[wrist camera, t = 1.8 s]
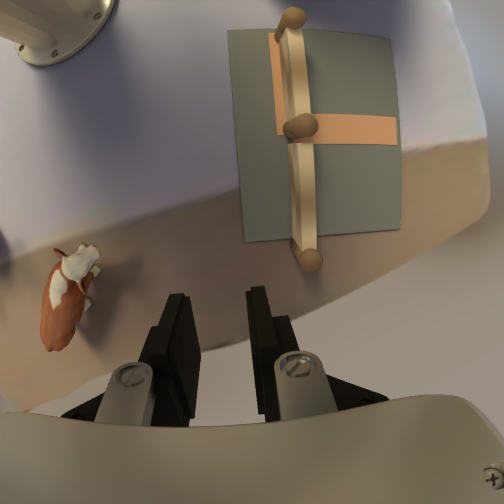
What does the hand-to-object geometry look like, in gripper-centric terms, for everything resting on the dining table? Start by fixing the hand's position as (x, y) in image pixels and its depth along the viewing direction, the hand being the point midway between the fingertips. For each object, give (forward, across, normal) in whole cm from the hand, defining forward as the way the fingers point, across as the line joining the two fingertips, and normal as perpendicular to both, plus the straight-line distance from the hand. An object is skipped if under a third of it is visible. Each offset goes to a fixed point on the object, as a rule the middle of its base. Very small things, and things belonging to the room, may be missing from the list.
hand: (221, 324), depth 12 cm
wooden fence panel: (+17, -7, -12) cm, 22 cm away
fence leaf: (+16, -7, -2) cm, 18 cm away
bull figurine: (+17, +16, +4) cm, 24 cm away
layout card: (+17, -10, -8) cm, 21 cm away
